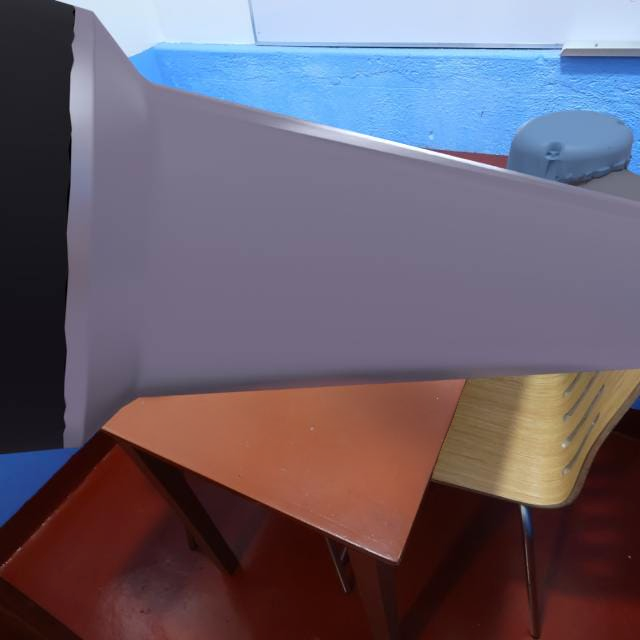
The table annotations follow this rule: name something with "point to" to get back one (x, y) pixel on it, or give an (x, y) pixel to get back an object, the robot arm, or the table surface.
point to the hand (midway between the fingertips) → (274, 220)
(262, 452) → the table surface
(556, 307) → the robot arm
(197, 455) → the table surface
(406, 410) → the table surface
